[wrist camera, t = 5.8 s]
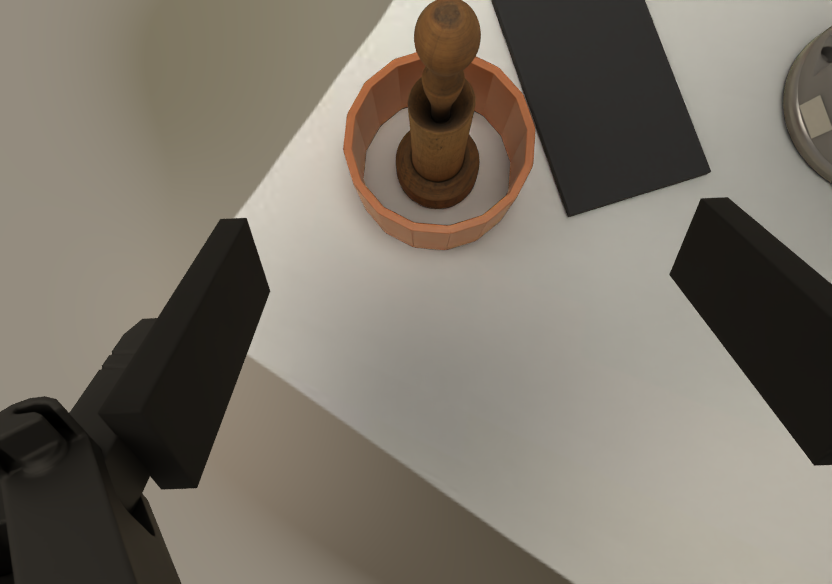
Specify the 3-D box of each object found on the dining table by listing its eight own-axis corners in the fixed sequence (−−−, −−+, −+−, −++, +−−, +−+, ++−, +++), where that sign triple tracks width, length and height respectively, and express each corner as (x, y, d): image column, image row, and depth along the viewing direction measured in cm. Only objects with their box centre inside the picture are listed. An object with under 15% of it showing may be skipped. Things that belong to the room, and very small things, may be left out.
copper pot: (487, 75, 37) (499, 26, 31) (538, 221, 36) (560, 199, 30) (338, 121, 37) (321, 80, 31) (383, 269, 36) (375, 257, 30)
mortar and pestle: (385, 192, 36) (347, 57, 19) (413, 122, 37) (403, -76, 19) (460, 220, 36) (496, 110, 18) (487, 148, 37) (548, -28, 19)
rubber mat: (623, -41, 38) (627, -47, 37) (706, 174, 36) (711, 171, 36) (491, -1, 38) (492, -6, 37) (567, 217, 36) (570, 215, 35)
